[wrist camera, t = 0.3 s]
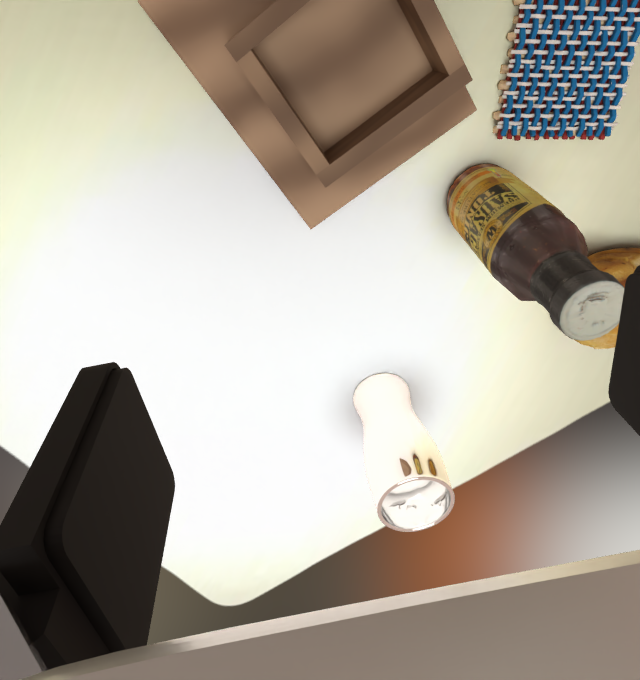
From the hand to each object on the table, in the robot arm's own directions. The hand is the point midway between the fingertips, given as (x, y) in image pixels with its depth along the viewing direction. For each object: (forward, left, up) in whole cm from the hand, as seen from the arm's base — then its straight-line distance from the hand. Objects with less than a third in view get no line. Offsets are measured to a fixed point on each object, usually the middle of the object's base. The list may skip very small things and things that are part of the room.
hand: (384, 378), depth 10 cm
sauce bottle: (+16, +9, -37) cm, 41 cm away
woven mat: (+11, +19, -37) cm, 43 cm away
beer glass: (+29, -9, -37) cm, 48 cm away
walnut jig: (-1, +4, -37) cm, 37 cm away
